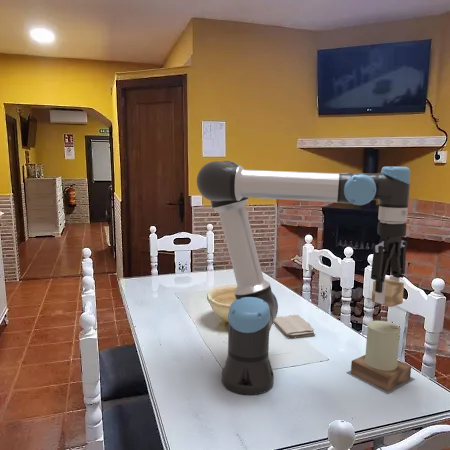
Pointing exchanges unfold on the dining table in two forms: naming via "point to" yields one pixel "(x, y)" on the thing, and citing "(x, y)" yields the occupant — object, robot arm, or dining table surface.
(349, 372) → the mat
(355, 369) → the slab
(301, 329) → the washcloth
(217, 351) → the dining table surface
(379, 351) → the can
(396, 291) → the cube
